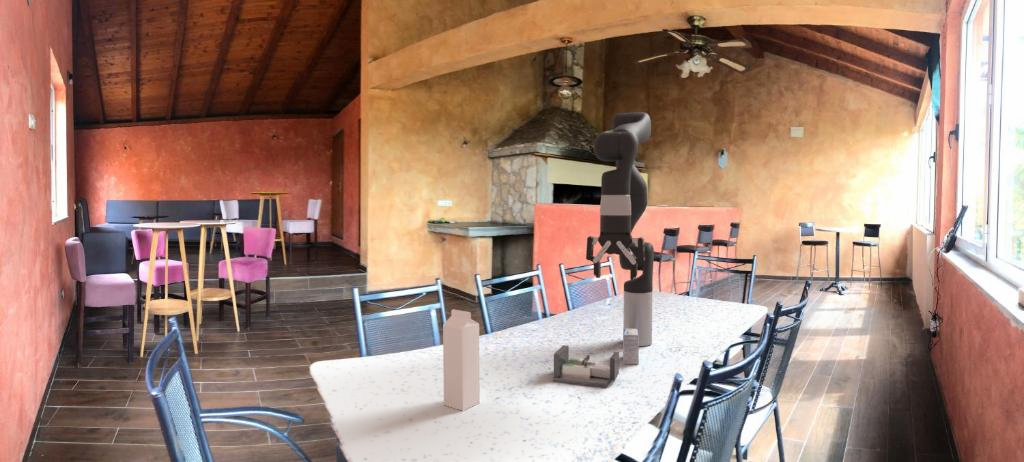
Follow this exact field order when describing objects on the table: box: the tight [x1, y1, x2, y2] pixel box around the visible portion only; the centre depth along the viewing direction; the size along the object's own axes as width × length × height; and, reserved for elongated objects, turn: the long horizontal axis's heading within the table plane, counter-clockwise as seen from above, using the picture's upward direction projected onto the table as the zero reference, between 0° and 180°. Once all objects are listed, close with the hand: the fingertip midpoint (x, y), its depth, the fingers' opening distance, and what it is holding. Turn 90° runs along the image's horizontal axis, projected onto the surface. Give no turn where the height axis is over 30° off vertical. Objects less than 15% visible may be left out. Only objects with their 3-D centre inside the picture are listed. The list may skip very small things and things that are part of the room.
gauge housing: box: [552, 344, 612, 389], centre depth 142 cm, size 11×14×7 cm
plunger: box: [582, 351, 620, 381], centre depth 141 cm, size 6×9×6 cm, turn 68°
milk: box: [442, 309, 481, 412], centre depth 124 cm, size 6×6×22 cm
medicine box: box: [622, 328, 640, 365], centre depth 158 cm, size 8×4×9 cm, turn 168°
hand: (615, 278), depth 134 cm, fingers open, 8 cm apart
